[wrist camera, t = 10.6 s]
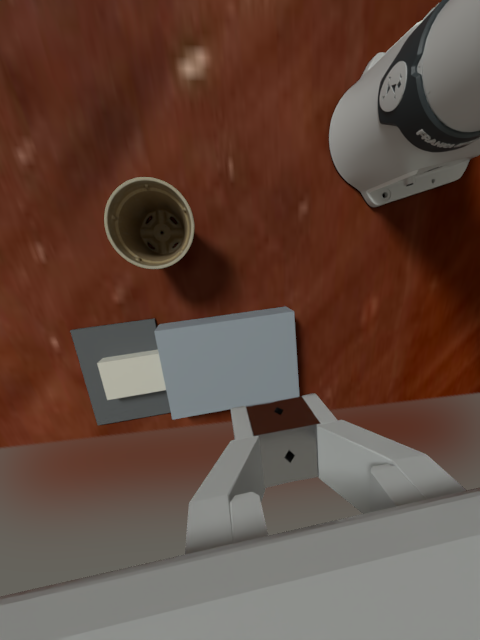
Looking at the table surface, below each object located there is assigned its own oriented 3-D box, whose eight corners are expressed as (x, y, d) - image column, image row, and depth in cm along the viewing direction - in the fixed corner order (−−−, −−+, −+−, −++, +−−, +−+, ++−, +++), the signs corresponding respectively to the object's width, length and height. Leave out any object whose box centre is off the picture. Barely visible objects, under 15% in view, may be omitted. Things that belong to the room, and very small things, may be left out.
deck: (285, 306, 40) (294, 311, 36) (291, 384, 44) (299, 396, 40) (159, 324, 38) (154, 331, 34) (175, 404, 42) (172, 419, 38)
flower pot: (206, 213, 36) (205, 199, 27) (185, 276, 37) (179, 280, 29) (139, 185, 34) (117, 160, 25) (120, 253, 35) (94, 250, 27)
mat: (154, 318, 38) (154, 319, 38) (173, 410, 42) (173, 412, 42) (71, 329, 37) (70, 330, 36) (98, 423, 41) (97, 425, 40)
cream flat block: (162, 348, 39) (160, 353, 37) (170, 383, 40) (168, 389, 38) (102, 358, 38) (97, 363, 36) (112, 393, 39) (107, 400, 37)
